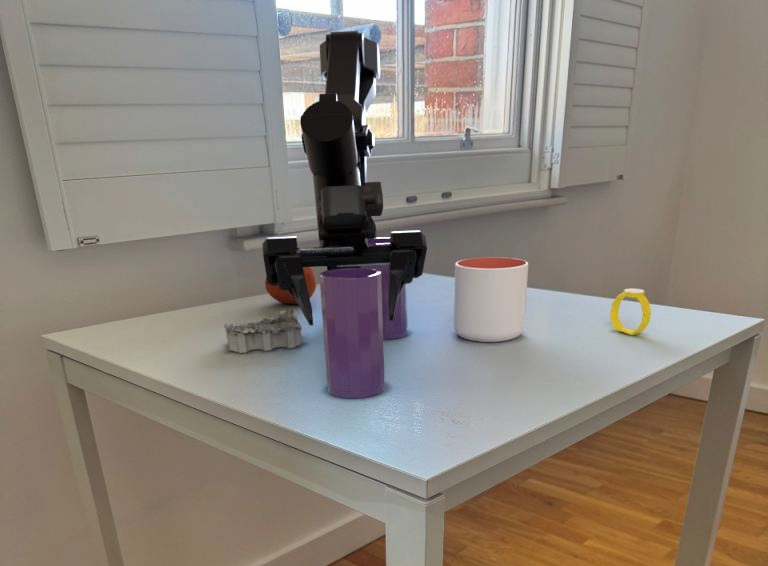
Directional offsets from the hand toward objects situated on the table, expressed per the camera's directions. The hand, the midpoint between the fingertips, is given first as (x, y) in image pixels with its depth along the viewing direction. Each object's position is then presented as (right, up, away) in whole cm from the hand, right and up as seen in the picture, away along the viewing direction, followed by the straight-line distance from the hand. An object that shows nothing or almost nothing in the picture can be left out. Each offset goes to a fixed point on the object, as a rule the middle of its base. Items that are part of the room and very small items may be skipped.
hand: (351, 321), depth 80 cm
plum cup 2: (+4, +5, +24) cm, 25 cm away
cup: (+19, +4, +21) cm, 29 cm away
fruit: (-13, +15, +45) cm, 49 cm away
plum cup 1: (0, -7, +2) cm, 8 cm away
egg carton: (-13, +2, +20) cm, 24 cm away
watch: (+38, +4, +20) cm, 44 cm away
